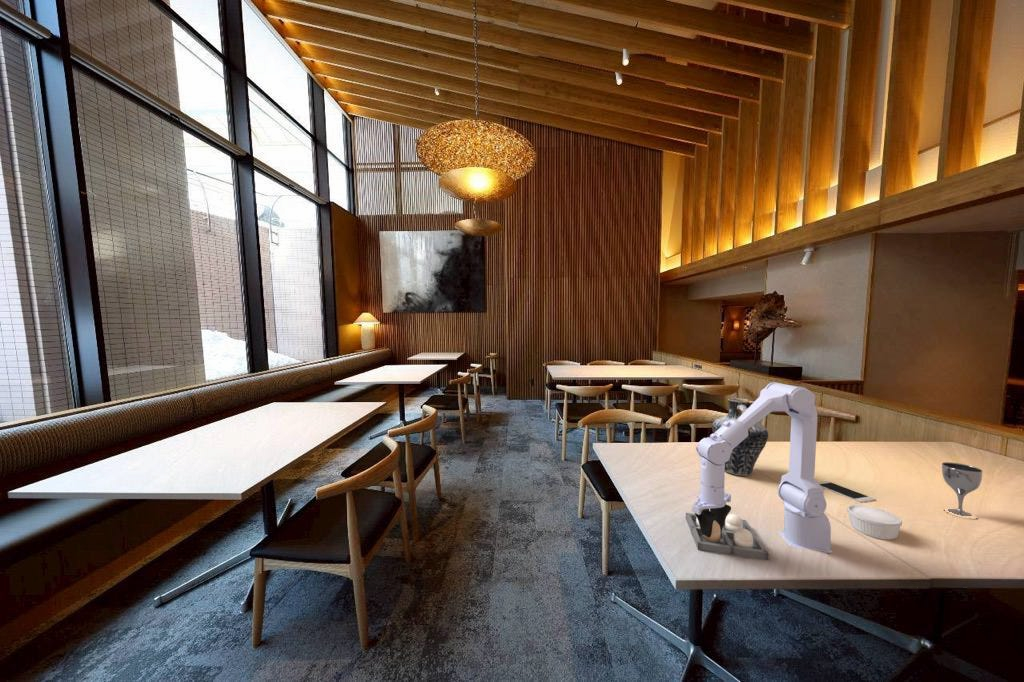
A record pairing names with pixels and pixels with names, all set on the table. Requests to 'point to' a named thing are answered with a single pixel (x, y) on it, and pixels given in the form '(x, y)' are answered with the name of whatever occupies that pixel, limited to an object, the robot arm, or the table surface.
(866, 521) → the ramekin
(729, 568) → the table surface
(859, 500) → the smartphone
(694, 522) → the egg tray
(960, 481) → the wine glass
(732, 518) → the cream egg
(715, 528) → the tan egg
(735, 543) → the cream egg
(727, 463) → the jug
